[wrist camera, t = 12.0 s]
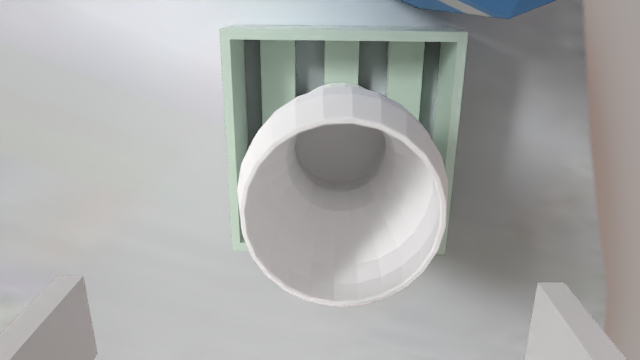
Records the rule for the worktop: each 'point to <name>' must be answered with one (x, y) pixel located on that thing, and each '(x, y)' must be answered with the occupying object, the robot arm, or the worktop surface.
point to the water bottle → (481, 6)
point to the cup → (342, 196)
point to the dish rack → (338, 69)
